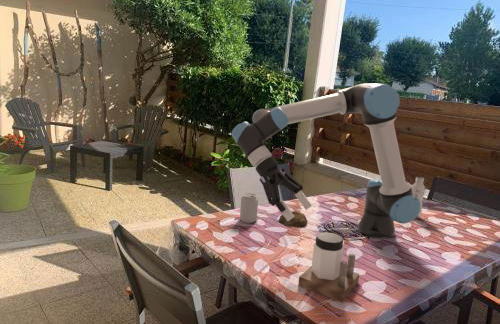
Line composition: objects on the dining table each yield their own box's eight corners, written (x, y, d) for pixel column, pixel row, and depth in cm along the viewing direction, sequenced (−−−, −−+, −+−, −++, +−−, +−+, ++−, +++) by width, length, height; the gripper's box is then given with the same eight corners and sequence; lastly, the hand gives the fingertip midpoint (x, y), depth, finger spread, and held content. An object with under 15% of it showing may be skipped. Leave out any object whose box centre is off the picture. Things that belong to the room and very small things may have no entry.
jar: (321, 264, 123) (325, 229, 121) (344, 273, 118) (348, 237, 115) (306, 273, 116) (310, 237, 114) (330, 283, 111) (334, 245, 109)
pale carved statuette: (406, 218, 183) (412, 178, 179) (406, 214, 189) (412, 175, 185) (421, 220, 181) (427, 180, 177) (420, 216, 187) (426, 177, 183)
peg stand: (298, 285, 115) (301, 255, 113) (317, 268, 126) (320, 240, 124) (342, 302, 107) (346, 270, 105) (358, 282, 119) (362, 253, 117)
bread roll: (306, 218, 175) (307, 208, 174) (307, 228, 163) (308, 217, 162) (278, 216, 176) (279, 206, 175) (278, 225, 164) (278, 215, 163)
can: (254, 224, 162) (256, 198, 160) (238, 222, 164) (239, 196, 161) (258, 219, 170) (259, 193, 167) (241, 216, 171) (243, 191, 169)
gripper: (274, 162, 141) (308, 209, 137) (236, 175, 121) (274, 230, 116) (287, 150, 137) (323, 198, 133) (250, 161, 117) (291, 217, 112)
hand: (300, 213), depth 124 cm, fingers open, 13 cm apart
